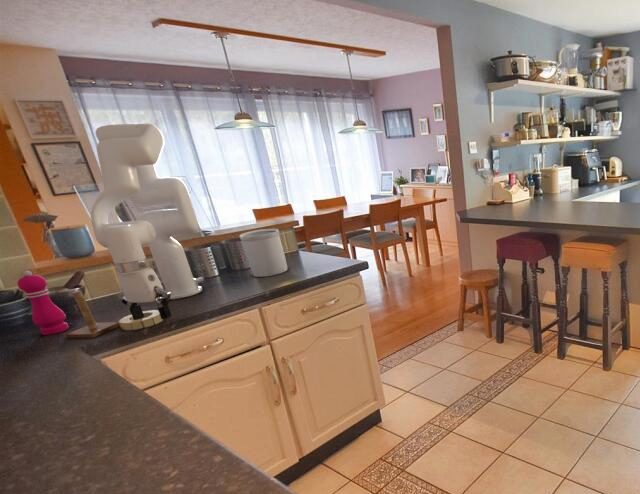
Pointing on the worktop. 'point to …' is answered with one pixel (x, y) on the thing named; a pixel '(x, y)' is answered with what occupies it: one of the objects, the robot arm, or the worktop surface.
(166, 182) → the robot arm
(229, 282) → the worktop surface
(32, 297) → the pepper mill
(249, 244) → the utensil holder
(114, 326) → the wooden peg stand
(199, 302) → the worktop surface
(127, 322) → the tape
